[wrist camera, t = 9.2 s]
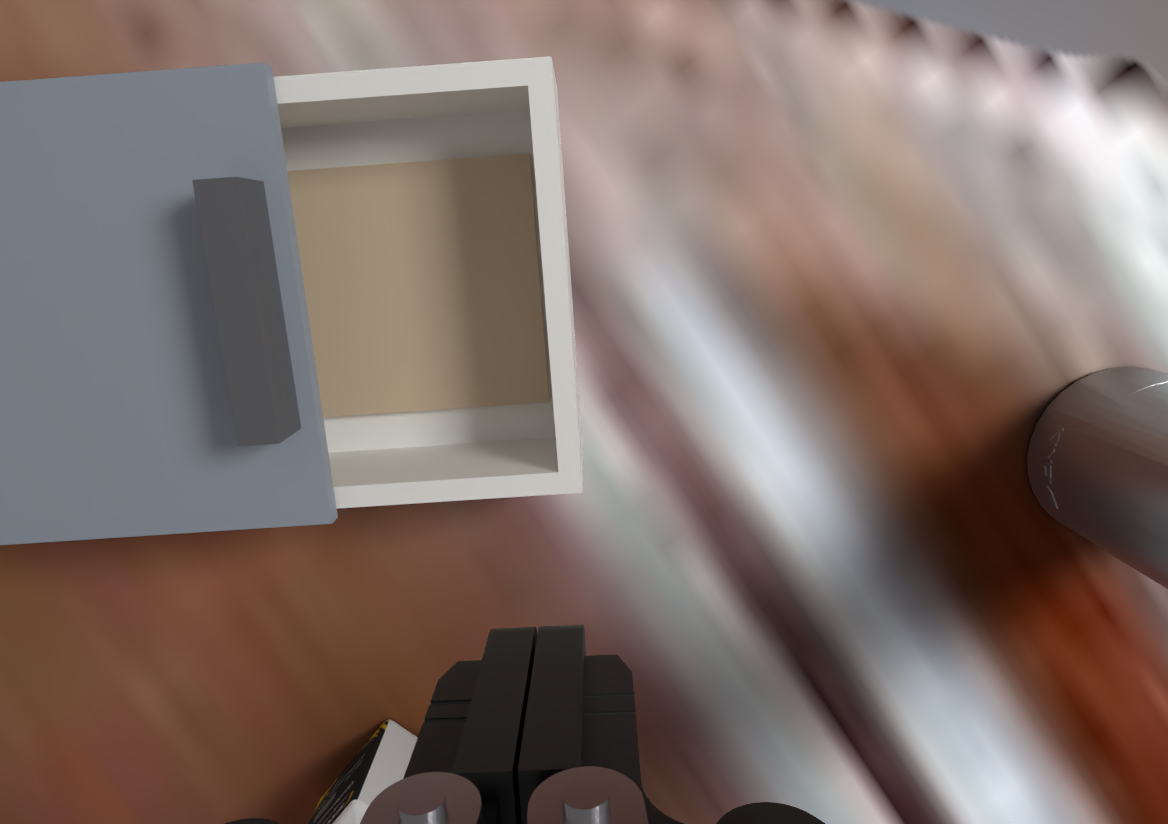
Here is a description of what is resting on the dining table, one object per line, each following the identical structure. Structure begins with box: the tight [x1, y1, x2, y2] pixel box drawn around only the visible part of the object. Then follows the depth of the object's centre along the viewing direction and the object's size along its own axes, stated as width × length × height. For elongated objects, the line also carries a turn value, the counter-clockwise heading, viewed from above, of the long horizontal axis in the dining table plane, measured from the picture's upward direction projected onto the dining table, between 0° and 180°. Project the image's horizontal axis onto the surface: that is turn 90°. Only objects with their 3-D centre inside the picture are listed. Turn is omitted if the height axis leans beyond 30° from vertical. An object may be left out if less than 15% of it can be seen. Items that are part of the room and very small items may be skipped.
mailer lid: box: [0, 63, 338, 545], centre depth 31 cm, size 21×19×3 cm
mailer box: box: [274, 56, 583, 509], centre depth 36 cm, size 20×18×7 cm
